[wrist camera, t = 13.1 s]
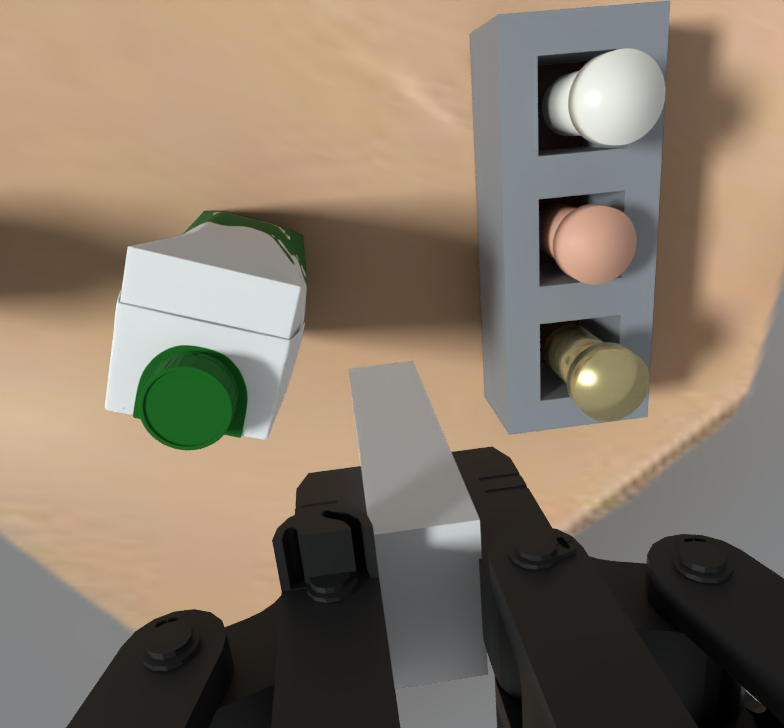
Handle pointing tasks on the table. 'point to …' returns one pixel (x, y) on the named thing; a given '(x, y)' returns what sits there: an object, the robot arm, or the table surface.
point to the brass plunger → (597, 372)
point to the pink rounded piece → (587, 241)
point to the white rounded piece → (607, 98)
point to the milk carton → (208, 330)
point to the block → (550, 180)
